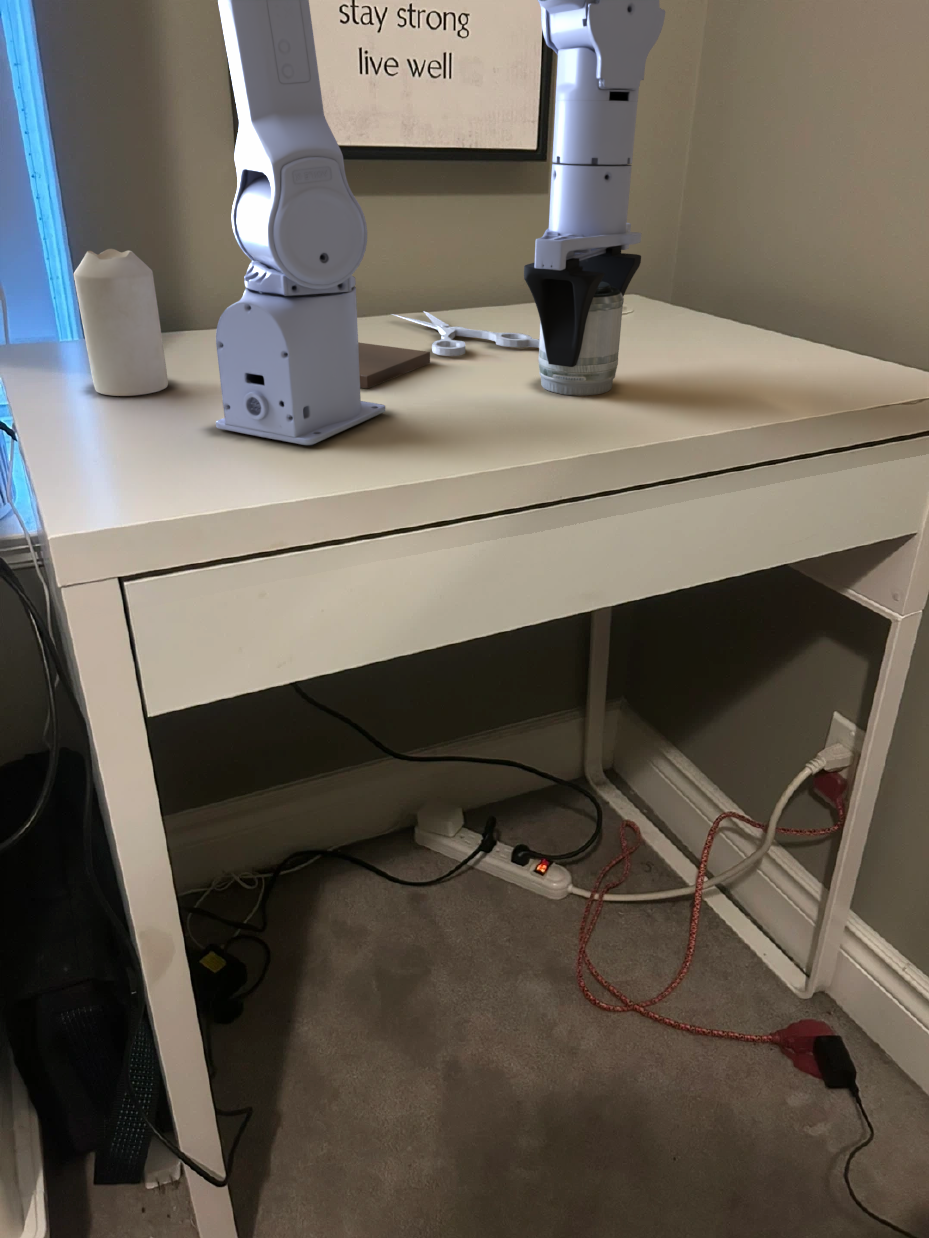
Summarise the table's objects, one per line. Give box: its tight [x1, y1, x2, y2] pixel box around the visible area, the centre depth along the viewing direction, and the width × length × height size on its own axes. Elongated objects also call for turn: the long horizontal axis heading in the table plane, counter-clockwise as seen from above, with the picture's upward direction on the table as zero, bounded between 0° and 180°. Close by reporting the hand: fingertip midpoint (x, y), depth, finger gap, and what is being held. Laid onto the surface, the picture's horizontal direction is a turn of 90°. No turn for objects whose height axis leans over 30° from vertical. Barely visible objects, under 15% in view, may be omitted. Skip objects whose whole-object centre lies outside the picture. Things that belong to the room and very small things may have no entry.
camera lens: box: [538, 282, 625, 397], centre depth 72 cm, size 6×6×8 cm
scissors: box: [391, 310, 540, 357], centre depth 90 cm, size 11×1×20 cm
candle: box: [73, 248, 169, 397], centre depth 69 cm, size 6×6×10 cm
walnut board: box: [358, 341, 431, 390], centre depth 78 cm, size 10×10×1 cm
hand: (578, 356), depth 72 cm, fingers closed on camera lens, 6 cm apart
